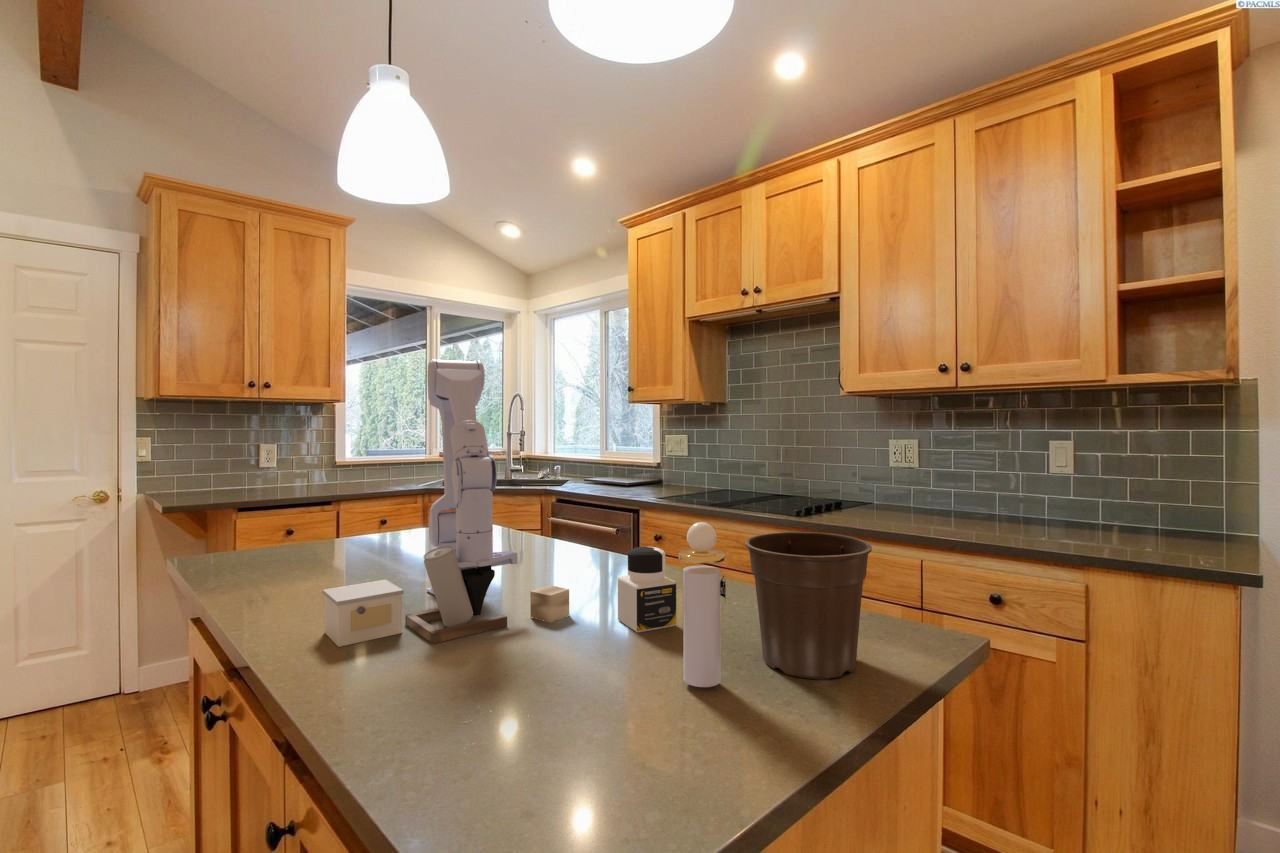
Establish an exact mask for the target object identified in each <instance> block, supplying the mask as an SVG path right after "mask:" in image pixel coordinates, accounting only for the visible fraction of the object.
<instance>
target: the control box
mask: <svg viewBox="0 0 1280 853" xmlns="http://www.w3.org/2000/svg"><path fill="white" fill-rule="evenodd" d="M322 594H323V595H324V602H323V603H324V604H323V605H324V634H325V635H327V637H328V638H329V639H331V641H332V642H333V643H334V644H335V645H336V646H337V647H338V648H339V647H346V646H350V645H353V644H358V643H362V642H367V641H372V640H376V639H381V638H385V637H390V636H393V635H399V634H402V633H403V605H402V604H403V596H402V595H403V594H404V589H403V588H401V587H399V586H398V585H396V584H394V583H392V582H391V581H389V580H388V579H387V578H386V579H379V580H375V581H367V582H362V583H356V584H355V583H354V584H349V585H344V586H339V587H338V586H337V587H332V588H331V587H330V588H325V589H322Z"/></svg>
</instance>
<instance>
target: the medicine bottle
mask: <svg viewBox="0 0 1280 853" xmlns="http://www.w3.org/2000/svg"><path fill="white" fill-rule="evenodd" d="M665 575H666V552H665V550H663V549H661V548H659V547H654V546H637V547H634V548H632V549H630V550H629V551H628V552H627V575H624V576H619V577H617V621H619V622H621V623H622V624H624V625H625V626H627V627H628V628H630V629H631V630H633V631H634V632H636V633H637V634H638V633H639V634H640V633H644V632H650V631H654V630H655V631H656V630H660V629H667V628H671V627H675V626H677V581H675V580H674V579H671V578H669V577H667V576H665Z"/></svg>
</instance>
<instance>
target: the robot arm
mask: <svg viewBox="0 0 1280 853" xmlns="http://www.w3.org/2000/svg"><path fill="white" fill-rule="evenodd" d="M484 367H485V366H484V364H483V363H482V362H481V360H476V361H475V360H473V361H471V360H446V359H444V360H443V359H435V358H431V360H430V361H428V365H427V393H428V396H427V397H428V400H429V405H430V406H432V407H433V408H436V409H438V412H439V415H440V416H439V417H440V420H441V426H442V427H441V429H442V430H441V432H442V433H441V434H442V437H441V438H442V457H443V458H442V459H443V460H442V462H443V463H442V464H443V466H442V467H443V488H444V490H443V493H444V494H443V495H442V496H441V497H439V498H438V499H437V500H436V501H434V502H433V503H432V504H431V506H430V508H429V519H428V535H429V543H430V544H431V545H432V546H433V547H435V548H438V547H442V546H452V547H453V550H455V553H456V556H457V559H458V567H459V568H460V570H461V573H462V576H463V580H464V583H465V586H466V590H467V593H468V596H469V600H470V603H471V607H472V610H473V616H474V617H477V616H481V615H482V614H481V613H482V609H483V604H484V602H485V598H486V595H487V592H488V590H489V587H490V585H491V583H492V582H493V581H494V580H493V579H494V578H495V575H496V574H495V573H496V572H495V570H494V569H492V568H493V567H500V566H504V565H517V564H518V563H519V562H518V559H519V558H518V552H517V551H514V550H505V551H496V552H495V551H494V550H493V548H494V541H493V540H494V535H493V530H494V527H493V525H494V524H493V523H494V522H493V521H494V519H493V518H494V517H493V515H494V511H493V508H494V507H493V491H494V492H495V489H496V486H497V479H498V471H497V469H498V468H497V463H496V460H495V459H496V458H495V456H494V455H493V453H492V451H489V446H488V441H487V436H486V428H485V427H484V425H483V424H482V423H481V422H480V421H477V411H476V410H477V409H476V406H478V405H479V401H480V400H481V396H482V393H483V390H484V387H485V381H486V379H485V378H486V377H485V375H486V374H485V368H484ZM443 511H444V512H443ZM426 591H427V592H428V593H430V594H432V595H433V596H435V594H434V591H433V588H432V586H431V587H427V588H426Z"/></svg>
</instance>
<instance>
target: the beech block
mask: <svg viewBox="0 0 1280 853" xmlns="http://www.w3.org/2000/svg"><path fill="white" fill-rule="evenodd" d="M529 594H530V618H531V617H533V618H537V619H540V620H539V621H541V620H544V621H543V622H545V621H548V622H547V623H549V622H552V623H554V622H556V621H555V620H557V621H559V620H562V619H564V618H563V617H565V618H566V616H567V617H569V616H570V589H569V588H565V587H559V586H556V585H555V586H554V585H546V586H542V587H538V588H537V589H533V590H530V593H529ZM568 615H569V616H568ZM533 618H532V619H533ZM561 618H562V619H561ZM537 619H536V620H537ZM558 619H559V620H558ZM553 621H554V622H553Z"/></svg>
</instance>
